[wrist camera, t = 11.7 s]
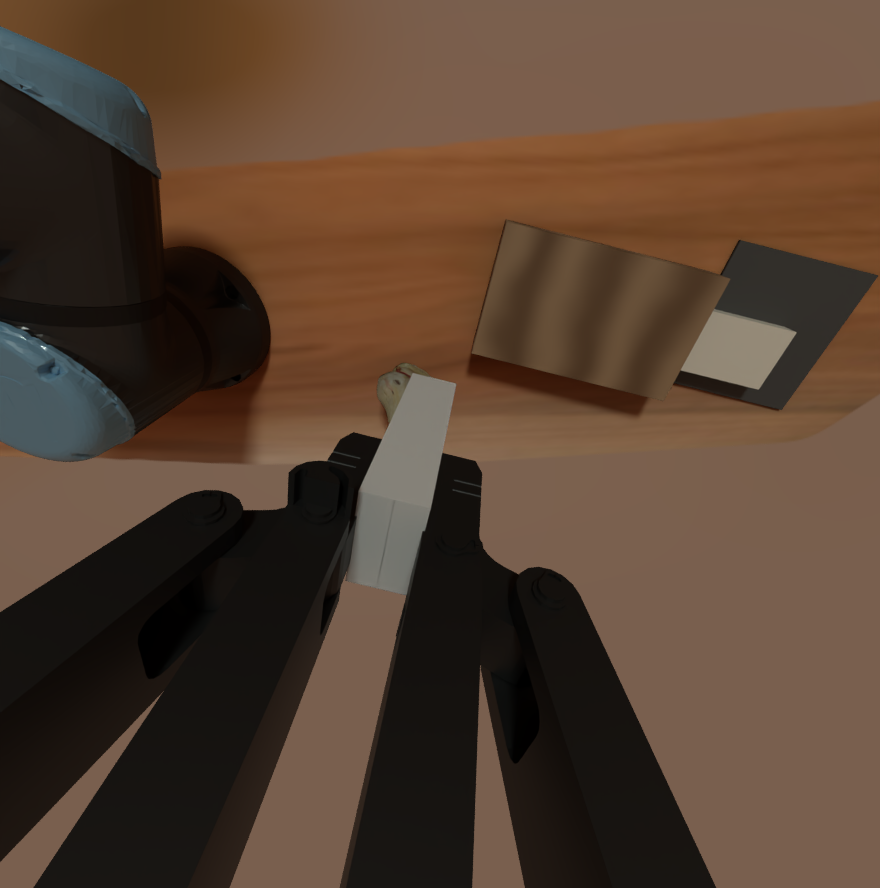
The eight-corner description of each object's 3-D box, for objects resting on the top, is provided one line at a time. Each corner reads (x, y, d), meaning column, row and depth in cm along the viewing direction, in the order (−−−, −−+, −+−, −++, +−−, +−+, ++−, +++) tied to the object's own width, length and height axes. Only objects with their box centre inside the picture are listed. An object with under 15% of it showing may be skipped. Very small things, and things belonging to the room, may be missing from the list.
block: (666, 361, 45) (672, 368, 43) (696, 304, 42) (704, 309, 40) (748, 382, 45) (758, 389, 43) (784, 326, 42) (796, 332, 40)
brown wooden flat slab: (473, 341, 46) (471, 353, 43) (505, 219, 40) (506, 221, 36) (651, 385, 46) (663, 401, 43) (710, 271, 40) (730, 278, 37)
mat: (664, 379, 46) (665, 380, 46) (739, 240, 39) (740, 240, 38) (779, 408, 46) (781, 409, 46) (875, 275, 39) (878, 275, 39)
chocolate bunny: (432, 351, 47) (418, 387, 39) (446, 414, 51) (436, 459, 43) (385, 359, 48) (361, 395, 40) (402, 420, 52) (383, 465, 44)
